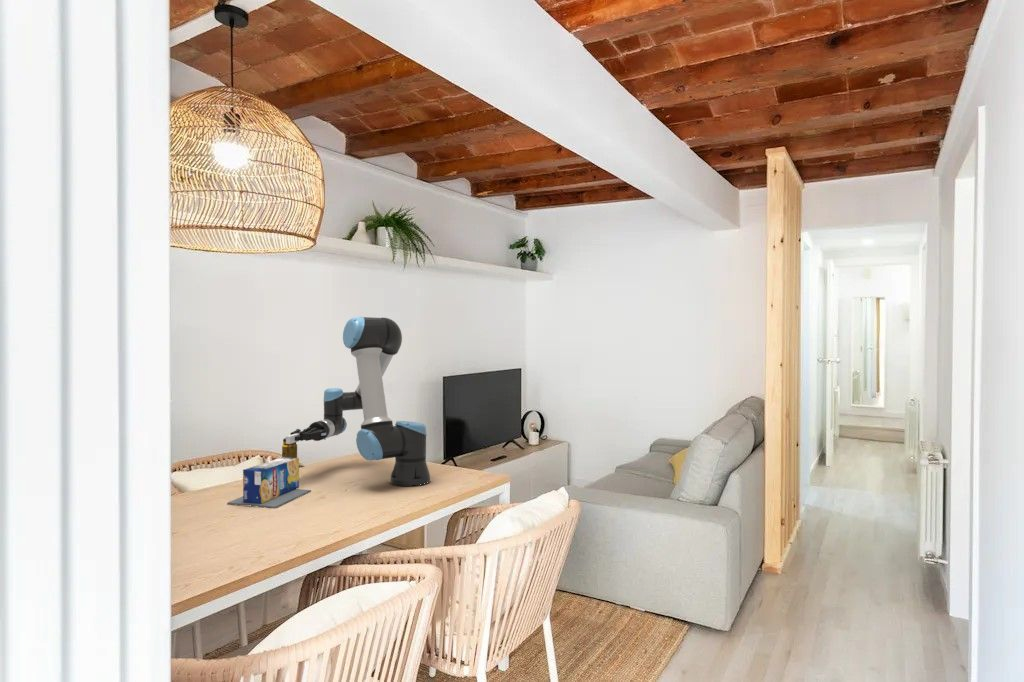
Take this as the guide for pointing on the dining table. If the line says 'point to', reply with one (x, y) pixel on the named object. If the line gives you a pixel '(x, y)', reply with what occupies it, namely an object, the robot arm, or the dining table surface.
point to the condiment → (289, 450)
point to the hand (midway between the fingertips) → (287, 440)
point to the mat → (274, 499)
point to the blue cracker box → (270, 479)
